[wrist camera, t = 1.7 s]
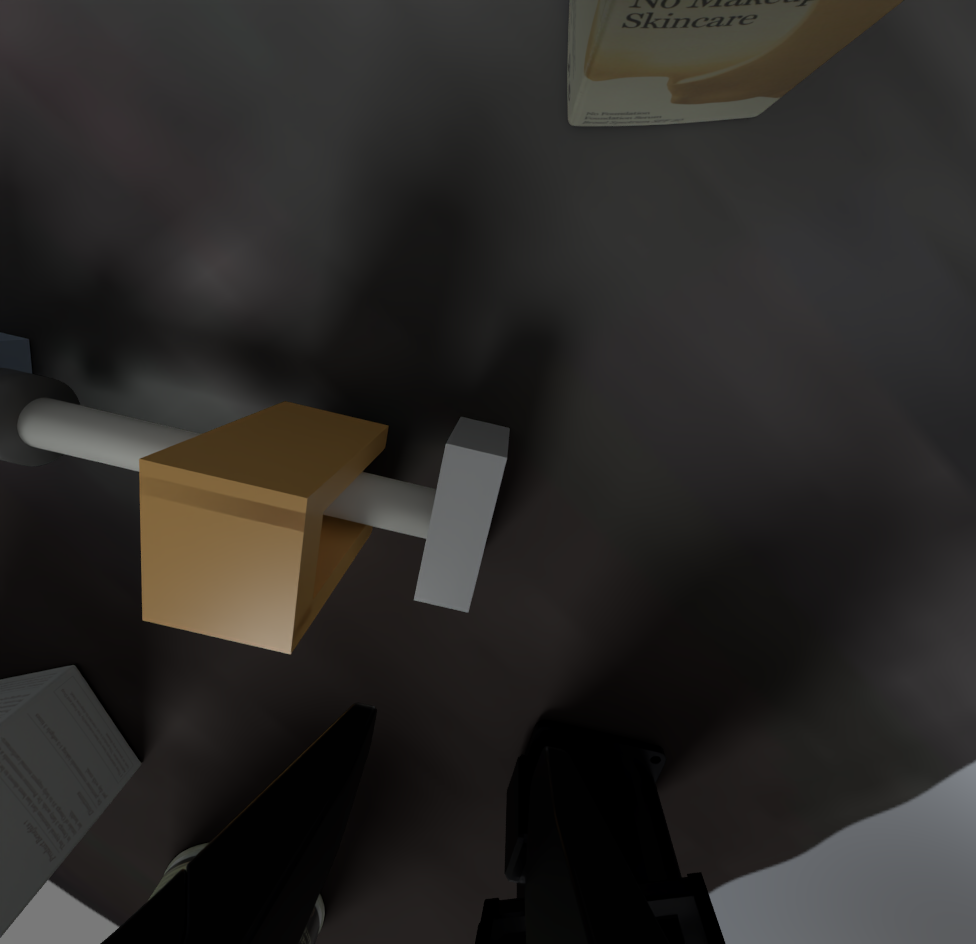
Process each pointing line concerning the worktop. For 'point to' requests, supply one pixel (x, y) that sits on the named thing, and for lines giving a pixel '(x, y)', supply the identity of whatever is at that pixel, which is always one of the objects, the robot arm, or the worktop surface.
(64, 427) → the grey mallet
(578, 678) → the worktop surface
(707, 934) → the robot arm
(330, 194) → the worktop surface
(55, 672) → the supplement box
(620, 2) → the skincare box
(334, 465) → the sleeve
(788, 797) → the worktop surface
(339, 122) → the worktop surface
